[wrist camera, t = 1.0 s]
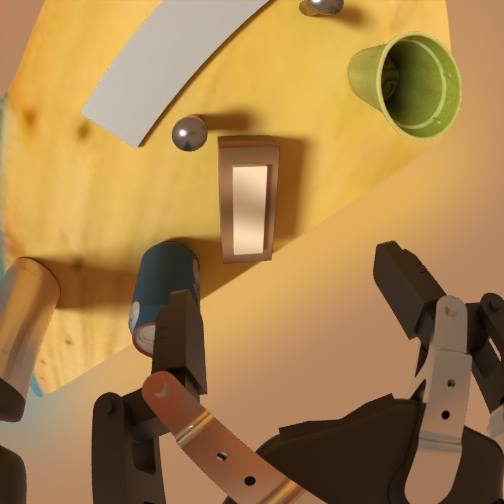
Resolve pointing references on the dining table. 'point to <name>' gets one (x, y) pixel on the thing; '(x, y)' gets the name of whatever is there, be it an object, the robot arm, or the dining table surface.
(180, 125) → the metal screw
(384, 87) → the plant pot
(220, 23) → the wall strip
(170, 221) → the dining table surface
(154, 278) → the soda can
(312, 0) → the metal bolt
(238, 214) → the wooden box
